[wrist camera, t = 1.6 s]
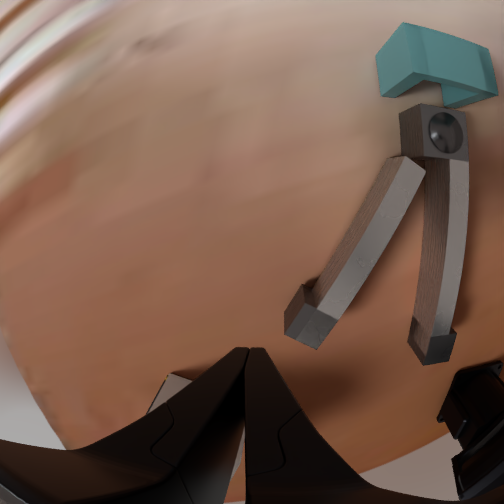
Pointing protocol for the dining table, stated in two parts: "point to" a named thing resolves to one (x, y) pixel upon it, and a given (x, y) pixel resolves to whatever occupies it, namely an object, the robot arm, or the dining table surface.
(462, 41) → the teal notched block
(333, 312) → the tong arm
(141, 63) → the dining table surface
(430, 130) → the tong frame
